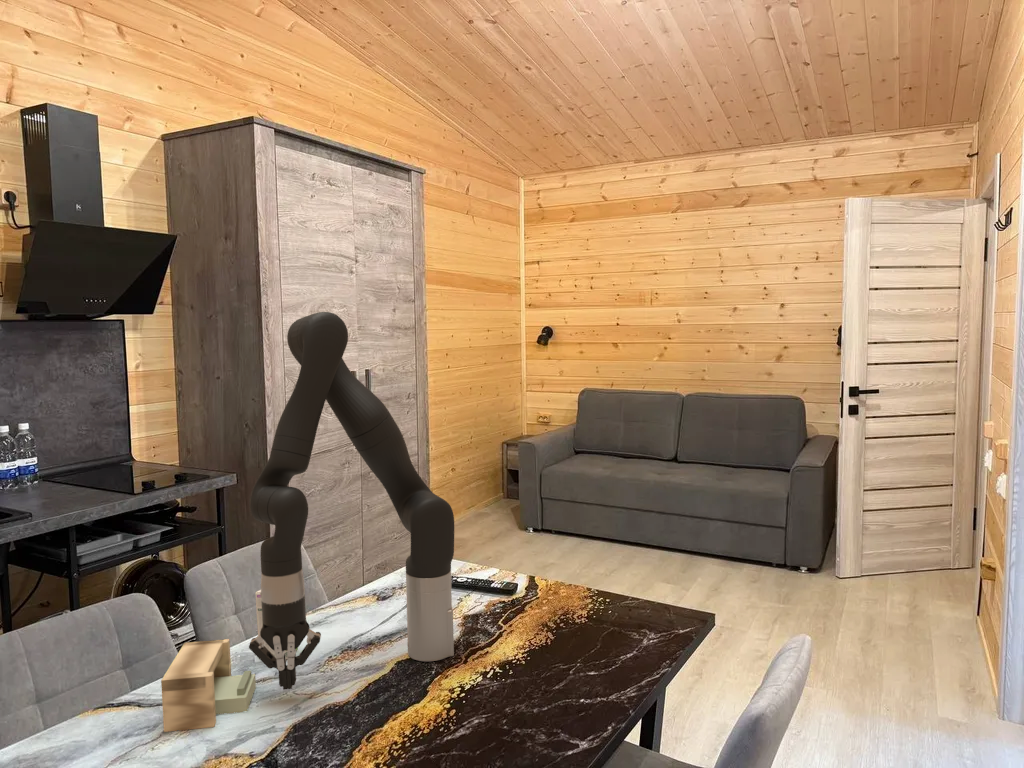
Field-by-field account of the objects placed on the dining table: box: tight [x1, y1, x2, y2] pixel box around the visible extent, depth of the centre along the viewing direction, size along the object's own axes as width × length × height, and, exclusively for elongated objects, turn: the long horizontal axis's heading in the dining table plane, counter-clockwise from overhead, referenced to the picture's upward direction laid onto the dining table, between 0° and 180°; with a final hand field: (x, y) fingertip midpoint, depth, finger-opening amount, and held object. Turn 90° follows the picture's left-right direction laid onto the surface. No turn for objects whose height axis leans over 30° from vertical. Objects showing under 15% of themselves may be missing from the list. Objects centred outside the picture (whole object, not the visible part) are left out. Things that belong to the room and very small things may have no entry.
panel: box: [214, 670, 257, 715], centre depth 135 cm, size 11×9×4 cm
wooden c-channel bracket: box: [160, 638, 232, 733], centre depth 133 cm, size 8×15×9 cm, turn 10°
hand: (287, 687), depth 135 cm, fingers closed
